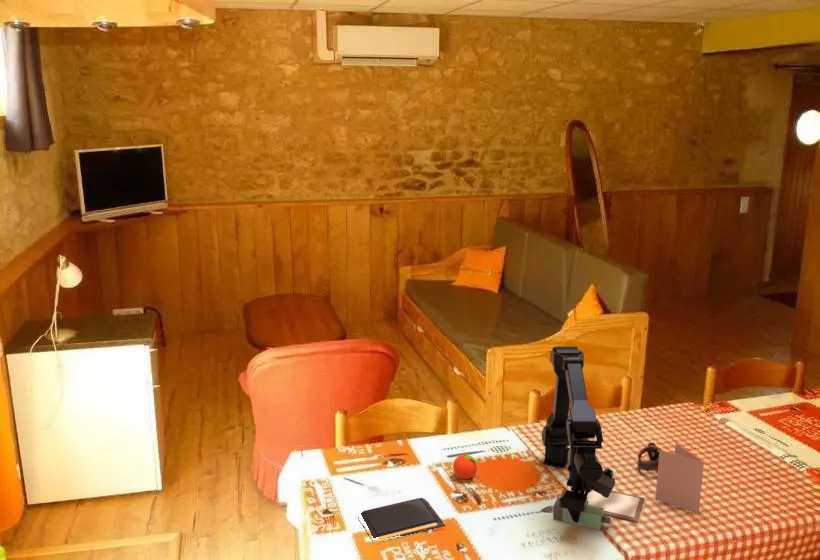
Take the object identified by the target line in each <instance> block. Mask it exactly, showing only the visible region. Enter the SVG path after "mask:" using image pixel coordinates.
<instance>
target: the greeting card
mask: <svg viewBox="0 0 820 560" xmlns="http://www.w3.org/2000/svg"><path fill="white" fill-rule="evenodd" d="M704 464H705V462H704V461H703V460H701V459H699V458H698V457H697V456H695V455H694V454H692V453H691V451H688V450H687V449H685V448H684V447H683V446H682V445H680V444H678V443H677V442H675V446H674V452H668V451H666V450H663V449H662V450H659V462H658V470H657V475H656V476H657V477H656V487H655V489H656V490H655V501H657V500H659V501H658V502H660V501H662V502H661V503H663V502H665V503H664V504H666V503H668V504H667V505H669V504H670V505H669V506H672V505H673V506H672V507H675V506H676V507H675V508H678V507H679V508H678V509H681V508H682V510H684V509H685V510H684V511H687V510H688V511H687V512H690V511H691V512H690V513H693V512H694V513H693V514H696V513H697V514H696V515H699V514H700V505H701V494H702V487H703V486H702V485H703V475H704Z"/></svg>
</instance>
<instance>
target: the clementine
mask: <svg viewBox="0 0 820 560" xmlns="http://www.w3.org/2000/svg"><path fill="white" fill-rule="evenodd" d="M478 465H480V463H479V462H478V460H477V459H476V458H474V457H473V456H472V455H470V454H466V453H463V454H460V455H458V456H457V457H456V458H455V459H454V461H453V464H452V469H453V472H454V474H455V475H456V476H457V477H458V478H460V479H462V480H469V479H471V478H473V477H474V476H475V475H476V473H477V470H478Z"/></svg>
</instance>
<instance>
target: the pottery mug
mask: <svg viewBox="0 0 820 560" xmlns="http://www.w3.org/2000/svg"><path fill="white" fill-rule="evenodd" d="M659 450H663V449H662V448H660V447H659V446H656V444H655V443H654V442H649V443H648V444H647V446H644V447H643V448H641V449H640V450H639V452H638V453H637V468H638V470H639V469H640V470H642V471H646V472H653V471H655V470H656V471H658V462H659ZM644 453H647V455H648V458H649V462H646V461H643V460H642V456H643V454H644Z"/></svg>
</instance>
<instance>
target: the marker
mask: <svg viewBox="0 0 820 560" xmlns="http://www.w3.org/2000/svg"><path fill="white" fill-rule="evenodd" d="M559 499H560V496H558V497H557V498H556V500H555V502H554V504H553V514H552V516H553V517H552V518H553V520H557V521H559V522H564V523H568V524H569V523H570V524H572V525H573V524H574V525H578V526H582V527H585V528H589V529H590V528H591V529H595V530H598V531H601V529H602V527H603V524H602V523H604V524H608V525H611V518H612V517H609V516H605V515H604V508H601V507H597V506H593V505H588V504H587V506H586V508H585V510H584V511H583V512H581V513H580V517H579V521H578V523H576V522H574V521H573V519H572V517H571V515H570V513H569V511H568V509H566V508H562V507H560V506H559Z"/></svg>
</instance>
